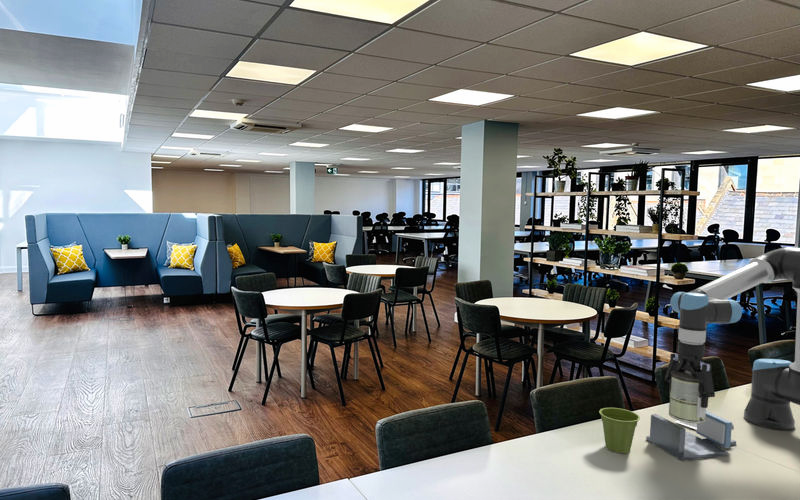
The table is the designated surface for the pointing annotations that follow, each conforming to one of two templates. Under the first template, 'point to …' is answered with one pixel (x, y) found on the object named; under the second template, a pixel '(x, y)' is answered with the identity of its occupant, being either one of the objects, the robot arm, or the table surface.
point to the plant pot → (618, 428)
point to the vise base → (681, 441)
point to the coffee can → (684, 397)
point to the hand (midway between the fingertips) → (686, 410)
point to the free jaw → (716, 429)
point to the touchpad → (688, 424)
